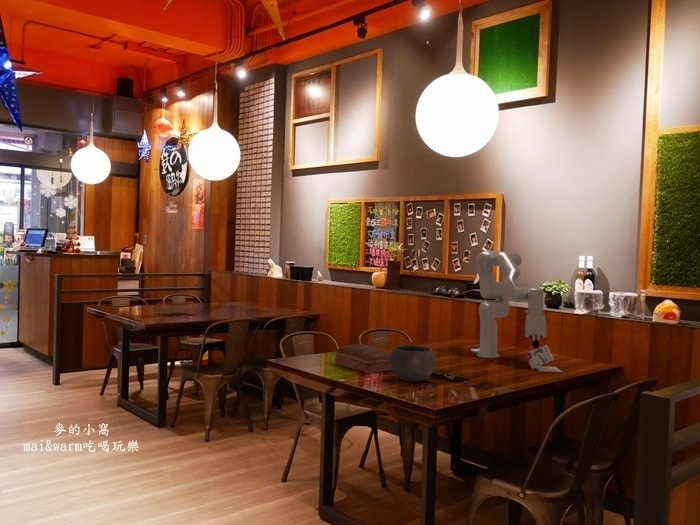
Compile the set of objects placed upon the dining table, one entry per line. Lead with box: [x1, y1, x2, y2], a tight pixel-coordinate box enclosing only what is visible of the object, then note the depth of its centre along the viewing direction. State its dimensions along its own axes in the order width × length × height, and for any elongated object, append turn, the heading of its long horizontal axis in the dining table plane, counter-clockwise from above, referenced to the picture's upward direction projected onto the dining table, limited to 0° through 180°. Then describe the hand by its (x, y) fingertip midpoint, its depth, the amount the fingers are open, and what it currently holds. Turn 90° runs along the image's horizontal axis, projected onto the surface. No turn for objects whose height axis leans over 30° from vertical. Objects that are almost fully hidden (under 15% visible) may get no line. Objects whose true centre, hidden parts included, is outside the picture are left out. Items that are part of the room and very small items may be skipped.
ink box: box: [524, 344, 555, 370], centre depth 310 cm, size 9×5×12 cm
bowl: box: [390, 344, 436, 383], centre depth 277 cm, size 20×20×15 cm
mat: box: [535, 365, 563, 373], centre depth 312 cm, size 11×12×1 cm
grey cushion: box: [334, 343, 393, 374], centre depth 307 cm, size 17×29×11 cm, turn 35°
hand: (535, 348), depth 311 cm, fingers closed
